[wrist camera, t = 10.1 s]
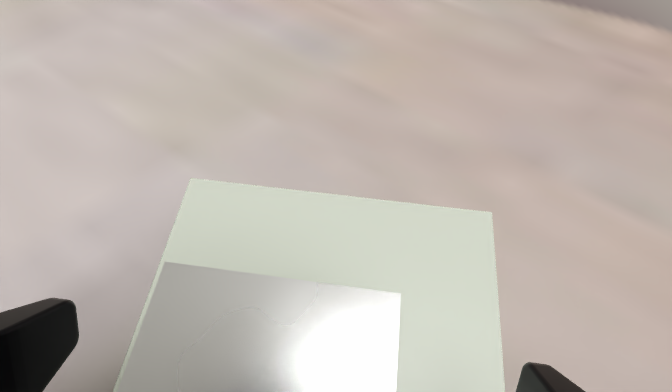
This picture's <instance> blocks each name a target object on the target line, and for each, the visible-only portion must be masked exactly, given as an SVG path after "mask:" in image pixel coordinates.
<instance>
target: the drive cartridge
mask: <svg viewBox="0 0 672 392" xmlns="http://www.w3.org/2000/svg"><path fill="white" fill-rule="evenodd" d="M400 302H401V293H394V292H386V291H379V290H372V289H364V288H357V287H350V286H342V285H335V284H327V283H320V282H313V281H305V280H298V279H291V278H283V277H276V276H268V275H261V274H254V273H246V272H239V271H231V270H224V269H217V268H209V267H202V266H195V265H187V264H180V263H172V262H164V265H163V268H162V271H161V273H160V276H159V279H158V282H157V284H156V287H155V290H154V292H153V295H152V298H151V301H150V303H149V306H148V309H147V312H146V314H145V317H144V320H143V322H142V325H141V328H140V331H139V333H138V336H137V339H136V341H135V344H134V347H133V350H132V352H131V355H130V358H129V361H128V363H127V366H126V369H125V371H124V374H123V377H122V380H121V382H120V385H119V388H118V391H117V392H396V375H397V357H398V339H399V321H400Z"/></svg>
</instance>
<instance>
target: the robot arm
mask: <svg viewBox="0 0 672 392" xmlns="http://www.w3.org/2000/svg"><path fill="white" fill-rule="evenodd" d="M78 338H79V330H78V321H77V313H76V306H75V304H74V302H72V301H71V300H66V299H59V298H49V299H45V300H42V301H38V302H35V303H32V304H28V305H25V306H21V307H18V308H15V309H11V310H8V311H4V312H1V313H0V392H42V391H43V390H44V389H45V387H46V386H47V385H48V383H49V382H50V380H51V379H52V378H53V376H54V375H55V374H56V372H57V371H58V370H59V368H60V367H61V366H62V364H63V363H64V362H65V360H66V359H67V357H68V356H69V355H70V353H71V352H72V351H73V349H74V348H75V346H76V344H77V342H78ZM516 392H585V391H584V390H582V389H581V388H580V387H578V386H577V385H576V384H574V383H573V382H571V381H570V380H569V379H567V378H566V377H565V376H563V375H562V374H561V373H559V372H558V371H557V370H555V369H554V368H552V367H551V366H549V365H546V364H539V363H531V362H528V363H526V364H525V365H524V366H523V368H522V371H521V375H520V378H519V382H518V386H517V389H516Z"/></svg>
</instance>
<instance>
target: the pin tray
mask: <svg viewBox="0 0 672 392" xmlns="http://www.w3.org/2000/svg"><path fill="white" fill-rule="evenodd" d="M164 262H172V263H180V264H187V265H195V266H202V267H209V268H217V269H224V270H231V271H239V272H246V273H254V274H261V275H268V276H276V277H283V278H291V279H298V280H305V281H313V282H320V283H327V284H335V285H342V286H350V287H357V288H364V289H372V290H379V291H386V292H394V293H401V302H400V321H399V339H398V357H397V375H396V392H505V384H504V370H503V357H502V343H501V329H500V316H499V302H498V289H497V275H496V262H495V248H494V234H493V221H492V212H485V211H476V210H467V209H458V208H450V207H441V206H432V205H423V204H415V203H406V202H397V201H388V200H379V199H371V198H362V197H353V196H344V195H336V194H327V193H318V192H309V191H300V190H292V189H283V188H274V187H265V186H257V185H248V184H239V183H230V182H221V181H213V180H204V179H195V178H191V179H190V181H189V184H188V187H187V190H186V192H185V195H184V198H183V201H182V203H181V206H180V209H179V212H178V214H177V217H176V220H175V222H174V225H173V228H172V231H171V233H170V236H169V239H168V242H167V244H166V247H165V250H164V253H163V255H162V258H161V261H160V263H159V266H158V269H157V272H156V274H155V277H154V280H153V283H152V285H151V288H150V291H149V294H148V296H147V299H146V302H145V304H144V307H143V310H142V313H141V315H140V318H139V321H138V324H137V326H136V329H135V332H134V335H133V337H132V340H131V343H130V346H129V348H128V351H127V354H126V356H125V359H124V362H123V365H122V367H121V370H120V373H119V376H118V378H117V381H116V384H115V387H114V389H113V392H117V391H118V388H119V385H120V382H121V380H122V377H123V374H124V371H125V369H126V366H127V363H128V361H129V358H130V355H131V352H132V350H133V347H134V344H135V341H136V339H137V336H138V333H139V331H140V328H141V325H142V322H143V320H144V317H145V314H146V312H147V309H148V306H149V303H150V301H151V298H152V295H153V292H154V290H155V287H156V284H157V282H158V279H159V276H160V273H161V271H162V268H163V265H164Z"/></svg>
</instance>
